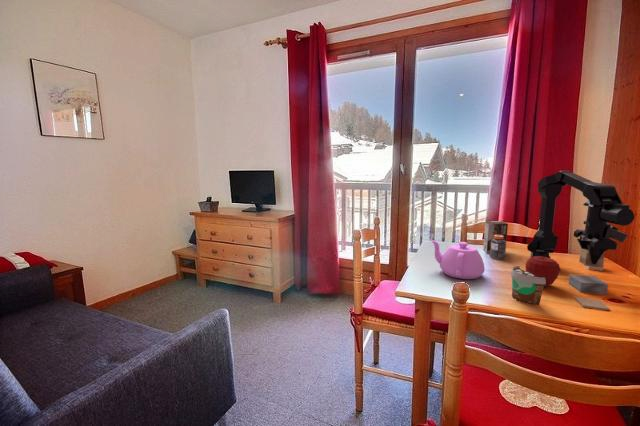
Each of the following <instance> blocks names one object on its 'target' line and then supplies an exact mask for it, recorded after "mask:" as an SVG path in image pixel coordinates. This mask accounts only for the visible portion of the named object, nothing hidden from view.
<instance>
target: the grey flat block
mask: <svg viewBox="0 0 640 426" xmlns="http://www.w3.org/2000/svg"><path fill="white" fill-rule="evenodd" d="M568 276H569V277H568V285H570V286H571V287H572V288H574V289H575V290H576V291H578V292H580V293H584V294H585V293H587V294H598V295H599V294H600V295H607V293H608V289H609V288H608V287H609V284H608V283H607V282H605V281H603V280H602V279H600V278H597V277H596V276H595V275H582V274H569V275H568Z"/></svg>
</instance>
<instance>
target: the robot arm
mask: <svg viewBox="0 0 640 426" xmlns="http://www.w3.org/2000/svg"><path fill="white" fill-rule="evenodd" d="M567 185H568V186H570V187H572V188H573V189H576V190H578V191H580V192H581V193H582V196H583V197H585V198H586V199H587V200H588V201H586V202H584V203H583V206H584V207H587V211H586V213H587V214H586V219H585V220H583V225H584V226H585V227H584V229H579V228H578V229H576V230H574V231H573V237H575V238H577V239H576V240H577V243H578V245H579V247H580V250H581V249H588V251H589V255H590V259H591V262H592V264H596V263H597V262H598V260H599V258H600V257H601V255H602V254H603V253H604V252H606V251H609V250H610V251H611V250H612V251H613V250H614V251H618V247H619V243H624V242H625V240H626V239H627V238H628V236H629V234H627V233H624V232H622V231H620V230H619V228H618V227H616V226H614V225H618V226H622V227H625V226H629V225H631V224H632V223H633V222H634V220H635V214H634V211H633V210H632V209H630V205H629V204H624V203H623V202H622V199H621V197H620V196H619V194H618V191H617V190H616V187H615V185H612V184H608V183H602V182H595V181H592V180H590V179H588V178H585V177H583V176H581V175H579V174H576V173H574V172H573V171H572V170H559V171H556V172H555V173H553V174H550V175H548V176H545V177H542V178H541V179H540V180H539V181H538V183H537V192H538V194H539V196H540V197H541V201H540V202H541V203H540V214H539V224H538V230H537V231H536V232H535V233H534V235H533V237H532V241H531V242H529V243H528V244H527V245H526V248H527V251H529V252H530V255H529V256H530V257H529V258H531V257H534V256H542V257H543V256H544V257H547V258H551V256H550V254H554V252H555V250H556V248H557V246H558V244H559V243H558V239H559V237H558V235H556V234H555V233H554V231H553V229H554V220H555V211H556V202H557V198H558V197H559V196H560V194H561V193H562V190H563V188H564V187H566V186H567ZM611 224H613V225H611ZM616 241H617V242H619V243H617V242H616Z"/></svg>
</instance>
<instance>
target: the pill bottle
mask: <svg viewBox="0 0 640 426" xmlns="http://www.w3.org/2000/svg"><path fill="white" fill-rule="evenodd" d="M503 239H504V236H502V235H494V239H492V241H491V253H489V254H490V255H489V257H490V258H492V259H494V260H503V259H504V258H505V254H504V252H505V241H504V240H503Z"/></svg>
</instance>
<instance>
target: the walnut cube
mask: <svg viewBox="0 0 640 426" xmlns="http://www.w3.org/2000/svg"><path fill="white" fill-rule="evenodd" d="M579 253H580V255H579V259H578V260H579V261H578V262H579V263H581V264H582V265H583V266H584V265H585V266H594V267H602V266H603V260H604V261H605V253H604V252H603V254H602V255H601V257H600V258H599V260H598V262H597V263H596V264H592V262H591V259H590V255H589V251H588V249H581V248H580V252H579Z"/></svg>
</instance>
